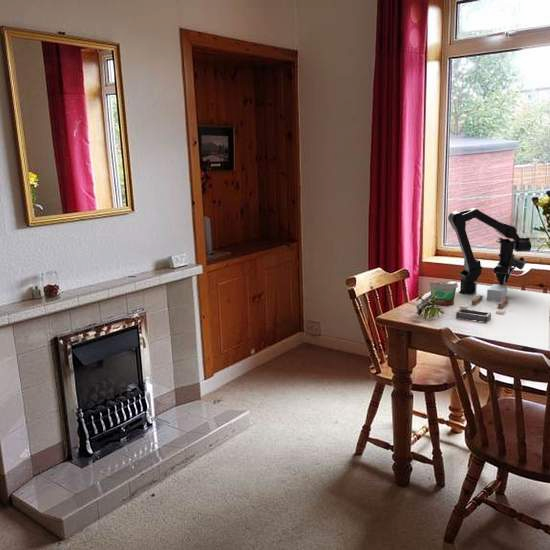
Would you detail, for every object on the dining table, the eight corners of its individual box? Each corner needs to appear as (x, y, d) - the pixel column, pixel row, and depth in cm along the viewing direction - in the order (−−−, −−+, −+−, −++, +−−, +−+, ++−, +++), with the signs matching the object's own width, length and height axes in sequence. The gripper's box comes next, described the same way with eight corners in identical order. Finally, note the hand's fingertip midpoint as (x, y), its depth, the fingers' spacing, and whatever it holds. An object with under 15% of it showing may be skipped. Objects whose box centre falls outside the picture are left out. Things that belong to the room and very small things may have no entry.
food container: (426, 306, 243) (427, 283, 241) (427, 302, 248) (428, 280, 246) (456, 308, 239) (457, 285, 237) (456, 304, 245) (458, 282, 242)
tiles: (459, 308, 238) (459, 306, 238) (461, 306, 240) (461, 304, 240) (503, 314, 228) (503, 312, 228) (505, 312, 230) (505, 310, 230)
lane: (471, 304, 243) (472, 300, 243) (478, 299, 252) (478, 294, 252) (501, 308, 236) (501, 304, 236) (507, 302, 245) (507, 298, 245)
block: (486, 300, 251) (487, 289, 250) (493, 294, 261) (493, 284, 260) (500, 302, 248) (501, 291, 247) (506, 296, 258) (507, 285, 256)
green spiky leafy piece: (419, 327, 231) (417, 300, 236) (446, 325, 227) (444, 297, 232) (414, 318, 222) (412, 291, 227) (442, 316, 218) (440, 287, 222)
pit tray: (456, 318, 225) (456, 312, 224) (460, 314, 230) (460, 308, 229) (486, 322, 218) (487, 316, 217) (490, 318, 223) (491, 312, 222)
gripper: (520, 256, 249) (518, 290, 252) (529, 250, 264) (526, 282, 267) (494, 254, 255) (492, 287, 258) (504, 248, 270) (501, 279, 273)
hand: (504, 284), depth 264 cm, fingers open, 9 cm apart
